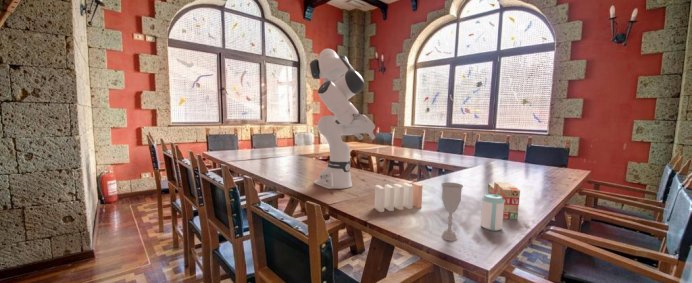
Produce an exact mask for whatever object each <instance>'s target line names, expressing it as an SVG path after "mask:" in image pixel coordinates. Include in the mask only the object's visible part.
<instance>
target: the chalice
mask: <svg viewBox="0 0 692 283" xmlns="http://www.w3.org/2000/svg"><path fill="white" fill-rule="evenodd" d="M441 187H442V192H441V194H442V195H441V199H442V204H443V207H444V208H445V211H446V212H447V213H448V217H447V219H448V221H447V223H446V224H447V226H448V227H447V229H445V230H444V231H443V232H442V234H441V236H440V237H441V238H442V239H443V240H445V241H449V242H450V241H451V242H453V241H457V240H458V238H457V235H456V231H455V230H454V229H452V225H453V224H454V223H453V222H452V221H453V219H454V218H453V213H455V212H457V210H458V207H459V205H460V203H461V200H462V190H463V187H464V185H463V184H461V183H458V182H442V183H441Z"/></svg>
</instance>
